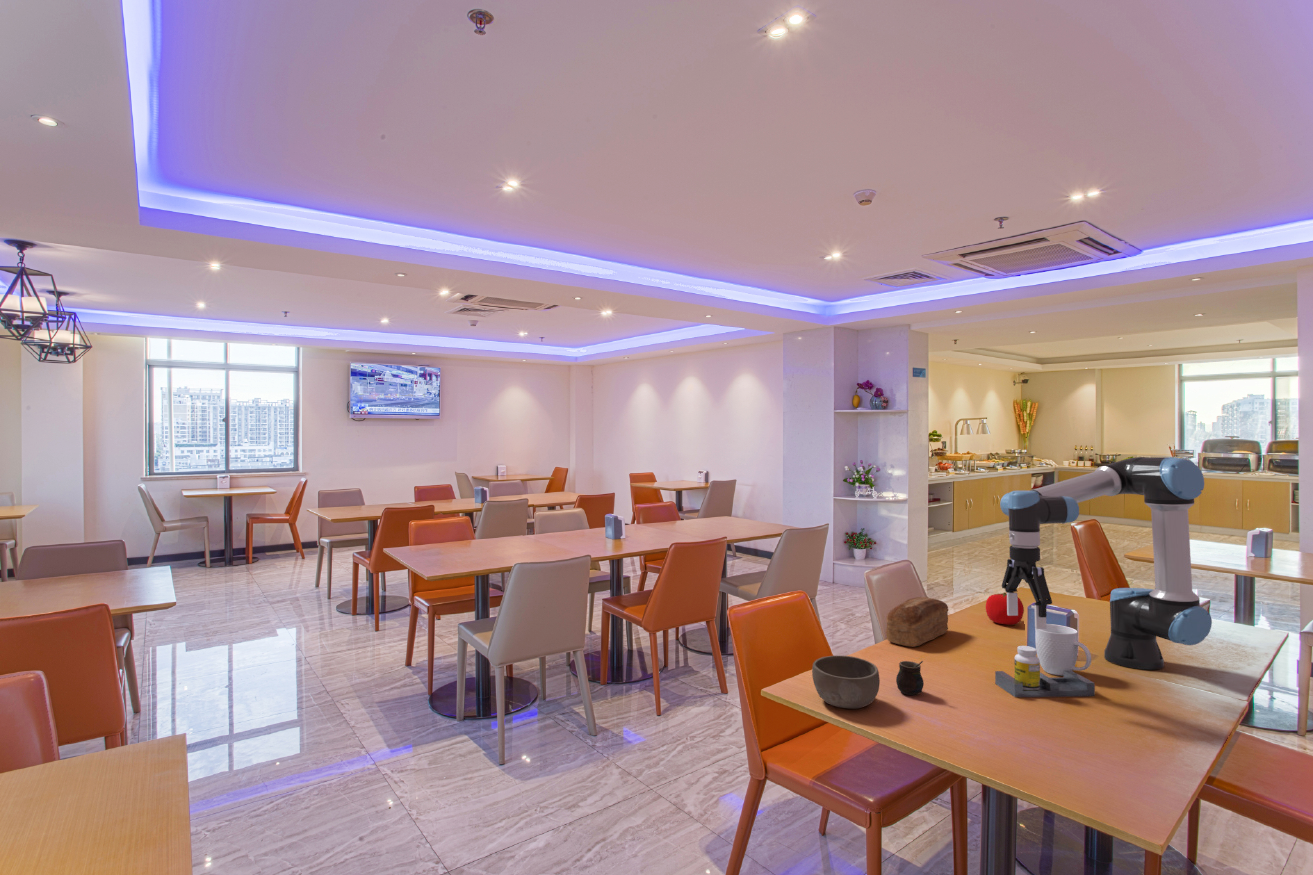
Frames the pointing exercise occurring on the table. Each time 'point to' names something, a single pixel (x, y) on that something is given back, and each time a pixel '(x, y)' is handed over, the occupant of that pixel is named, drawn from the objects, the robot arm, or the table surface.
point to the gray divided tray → (1048, 685)
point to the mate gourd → (909, 678)
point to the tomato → (1002, 610)
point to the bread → (917, 621)
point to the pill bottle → (1027, 668)
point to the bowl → (846, 681)
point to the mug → (1059, 649)
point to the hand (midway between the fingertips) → (1026, 621)
